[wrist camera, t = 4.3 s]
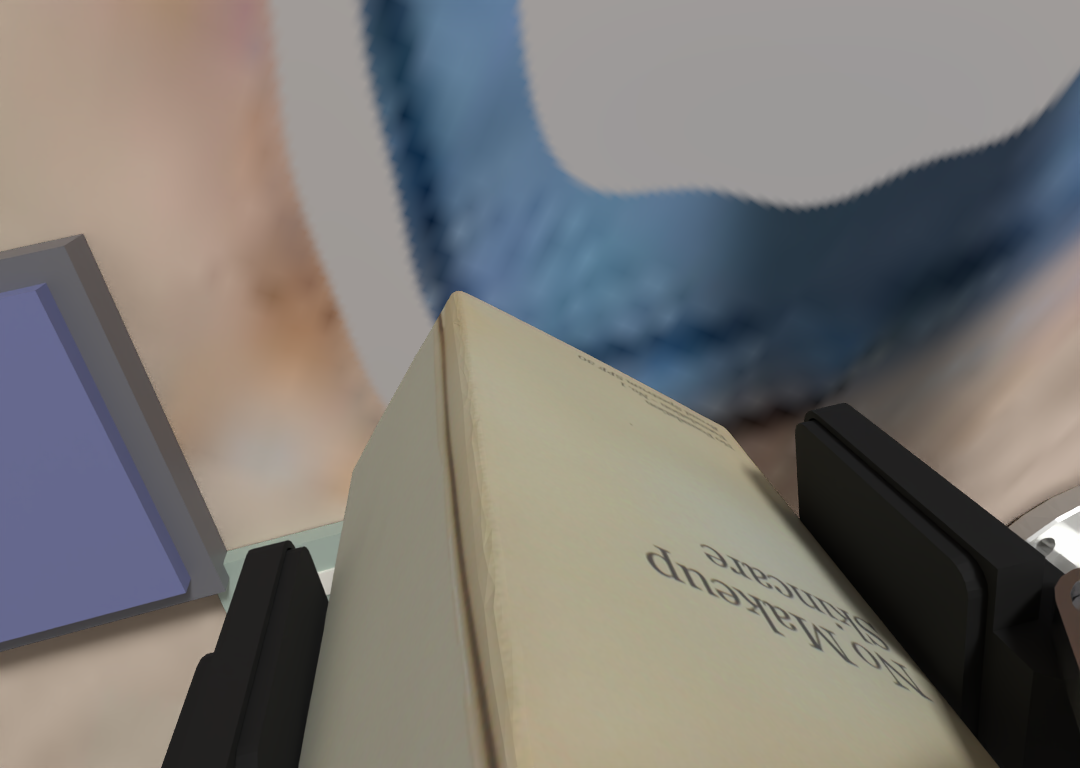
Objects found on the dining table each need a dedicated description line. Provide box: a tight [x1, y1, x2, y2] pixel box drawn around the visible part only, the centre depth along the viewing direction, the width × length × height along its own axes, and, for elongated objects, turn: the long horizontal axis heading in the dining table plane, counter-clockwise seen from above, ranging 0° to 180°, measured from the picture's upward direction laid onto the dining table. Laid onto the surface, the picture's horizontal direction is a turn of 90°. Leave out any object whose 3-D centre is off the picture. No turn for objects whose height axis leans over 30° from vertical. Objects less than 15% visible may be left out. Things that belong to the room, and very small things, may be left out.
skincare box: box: [298, 291, 1000, 768], centre depth 9 cm, size 6×4×12 cm
